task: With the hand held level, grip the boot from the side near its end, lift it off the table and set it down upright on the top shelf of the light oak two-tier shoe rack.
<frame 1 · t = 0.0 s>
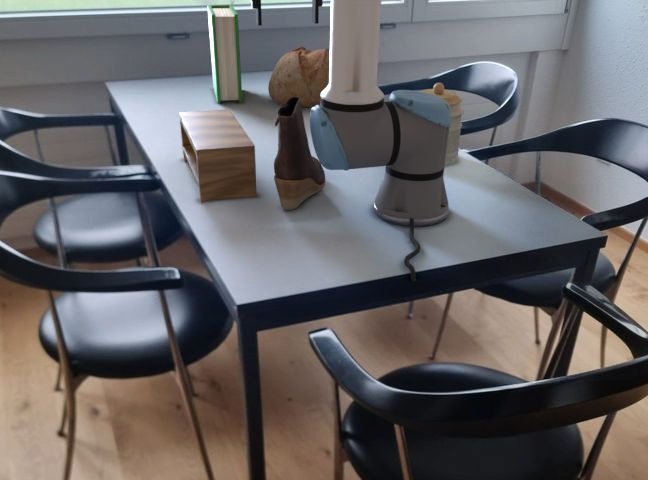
hand: (287, 23, 161), 28 cm above the table, tool pointing down, fingers open, 13 cm apart
hardback book: (227, 96, 216), on the table
bread: (311, 101, 212), on the table
jar: (430, 159, 171), on the table
boot: (301, 193, 151), on the table
shoe rack: (218, 176, 158), on the table
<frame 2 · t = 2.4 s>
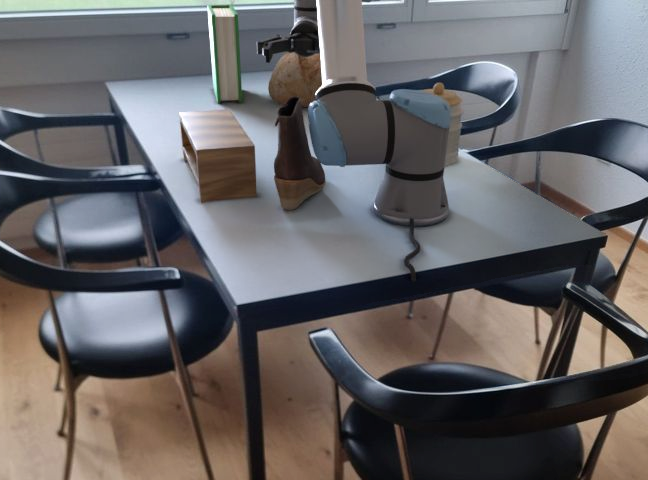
hand: (298, 57, 149), 24 cm above the table, tool horizontal, fingers open, 13 cm apart
nothing on the table moved.
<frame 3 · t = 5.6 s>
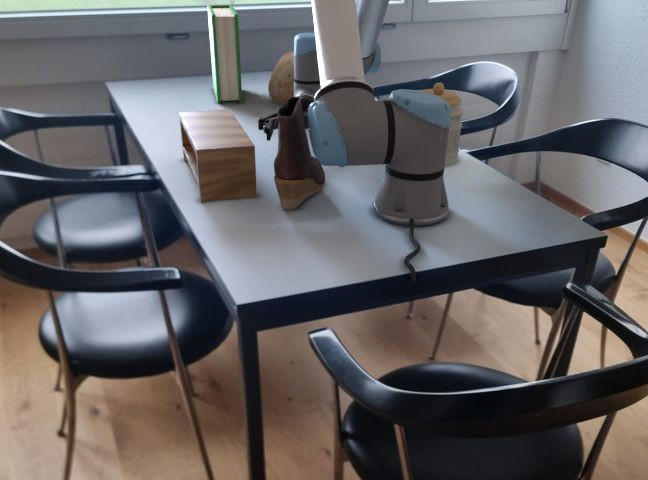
hand: (297, 135, 156), 8 cm above the table, tool horizontal, fingers open, 13 cm apart
nothing on the table moved.
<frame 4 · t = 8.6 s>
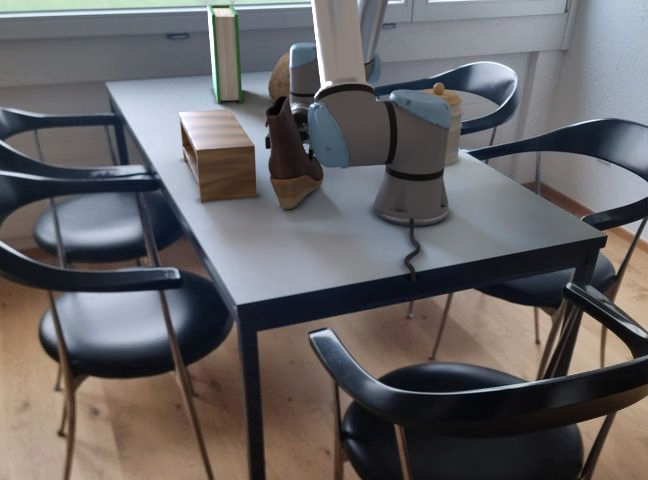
hand: (293, 155, 146), 8 cm above the table, tool horizontal, fingers closed on boot, 6 cm apart
boot: (301, 191, 151), on the table, touching gripper
everything else where it was.
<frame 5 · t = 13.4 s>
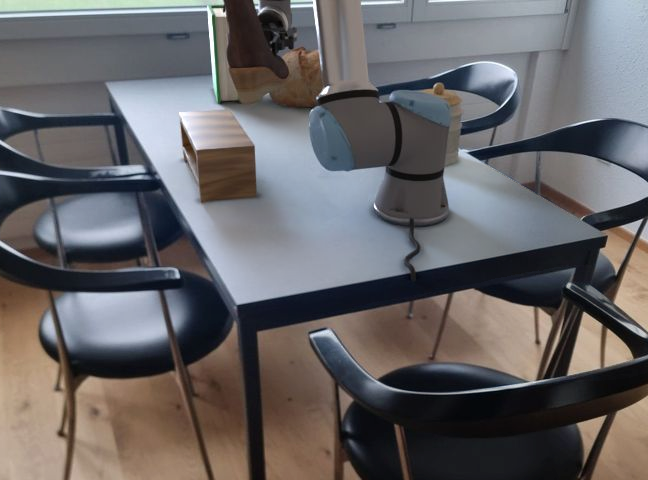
hand: (255, 49, 137), 28 cm above the table, tool horizontal, fingers closed on boot, 6 cm apart
boot: (264, 91, 142), point 20 cm above the table, touching gripper
everything else where it was.
when the fingers open (19 cm above the table, at t = 18.3 s): boot stays where it is, resting on shoe rack.
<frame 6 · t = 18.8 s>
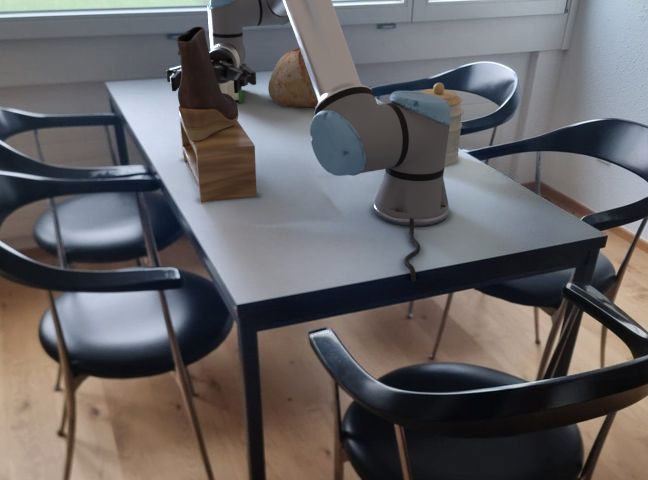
hand: (204, 85, 148), 19 cm above the table, tool horizontal, fingers open, 13 cm apart
boot: (213, 128, 151), point 11 cm above the table, touching shoe rack
everything else where it was.
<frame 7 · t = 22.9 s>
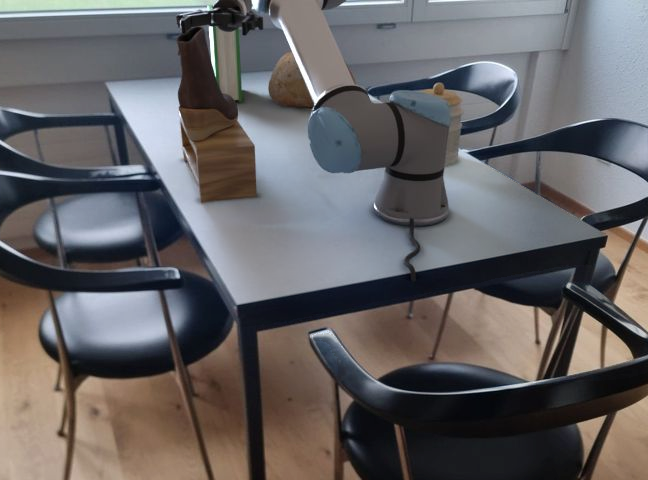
hand: (213, 28, 153), 28 cm above the table, tool horizontal, fingers open, 13 cm apart
nothing on the table moved.
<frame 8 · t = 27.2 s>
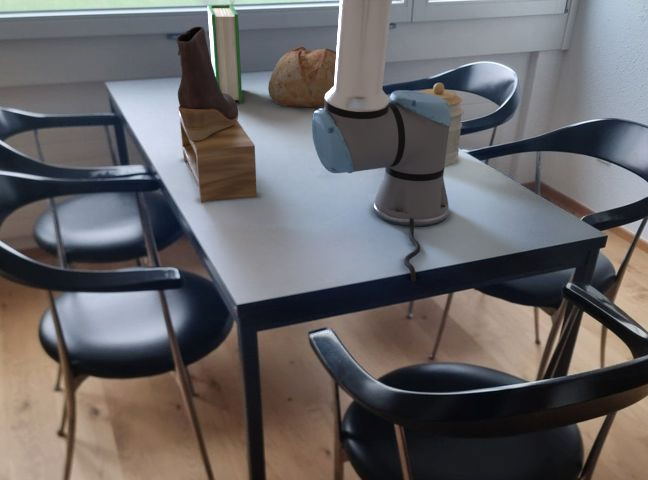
nothing on the table moved.
at the end: boot inside the target area on the shoe rack (0.4 cm from its centre), point 10.8 cm above the shoe rack's base; boot tilted 0°; the gripper is holding nothing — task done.
